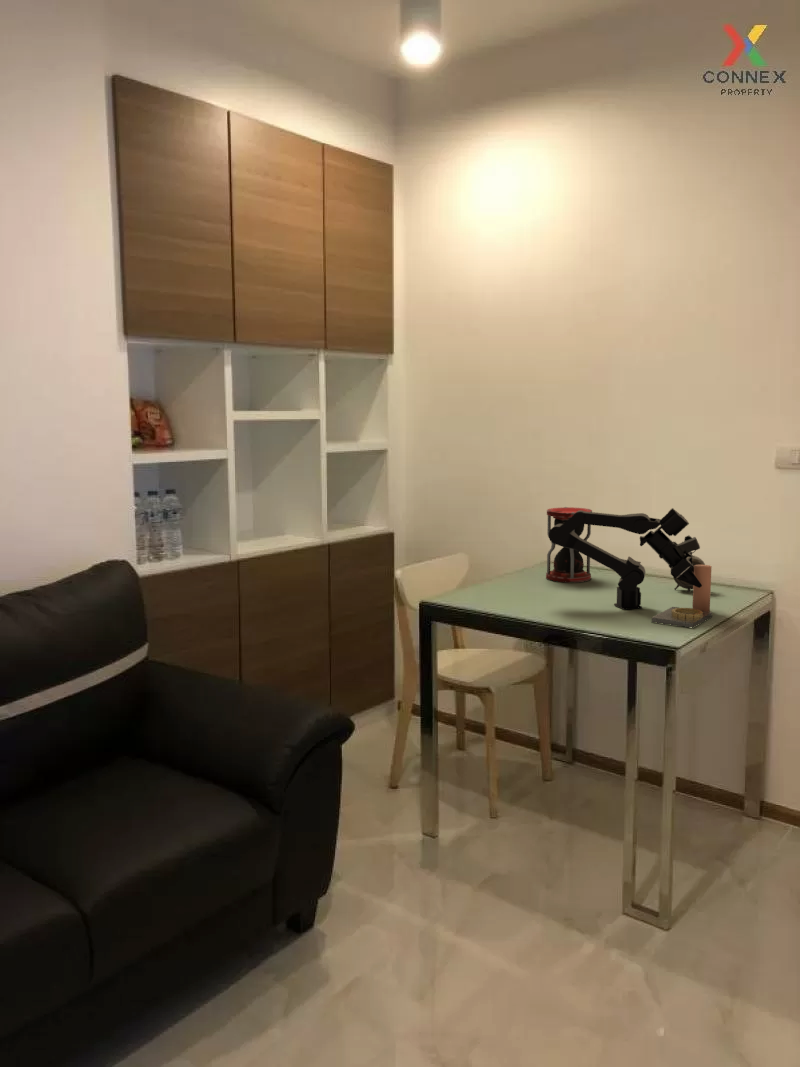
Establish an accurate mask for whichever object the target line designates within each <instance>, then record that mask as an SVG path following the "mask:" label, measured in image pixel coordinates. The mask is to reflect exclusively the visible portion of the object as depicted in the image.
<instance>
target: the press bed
mask: <svg viewBox="0 0 800 1067" xmlns="http://www.w3.org/2000/svg"><path fill="white" fill-rule="evenodd" d="M710 617H711V618H713V612H712V611H710V612H707V611H701V610H698V609H693V607H679V606H678V607H677V606H671V607H669V608H667V609H666V610H663V611H662V612H660V613H657V614H656V615H653V616H652V617H651V623H652V622H657V623H656V624H659V623H663V624H662V625H665V624H671V625H670V626H672V625H677V626H676V627H679V626H685V627H692V628H693V627H694V626H696V625H698V624H699V625H701V624H702V622H703V623H704V621H705V620H706V621H708V620H709V618H710ZM711 618H710V619H711ZM707 619H708V620H707ZM706 621H705V622H706ZM700 623H701V624H700ZM699 625H698V626H699ZM685 627H684V628H685ZM696 627H697V626H696ZM692 628H691V629H692ZM694 628H695V627H694ZM694 628H693V629H694Z"/></svg>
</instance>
